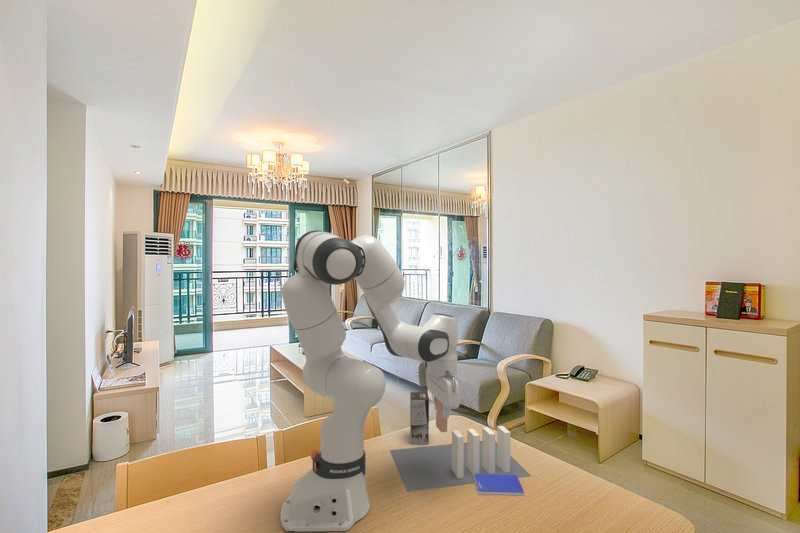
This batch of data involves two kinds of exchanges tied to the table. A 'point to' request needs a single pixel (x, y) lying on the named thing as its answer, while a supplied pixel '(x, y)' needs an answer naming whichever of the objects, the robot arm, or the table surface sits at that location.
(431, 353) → the robot arm
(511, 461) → the mat
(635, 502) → the table surface
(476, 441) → the domino
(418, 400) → the coffee box
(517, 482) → the hard drive
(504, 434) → the domino
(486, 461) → the domino
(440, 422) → the tile
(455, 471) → the domino
